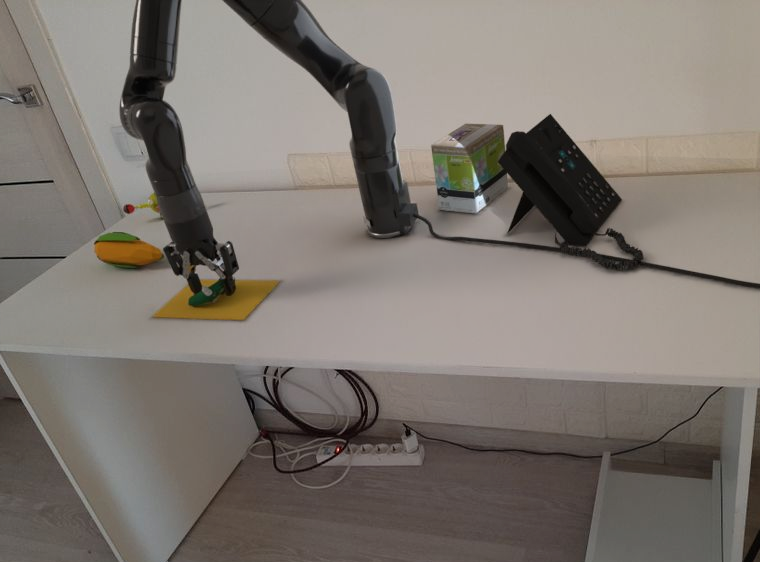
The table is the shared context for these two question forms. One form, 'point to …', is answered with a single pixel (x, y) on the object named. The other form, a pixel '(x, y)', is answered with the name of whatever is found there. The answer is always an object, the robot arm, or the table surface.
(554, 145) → the office phone
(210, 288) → the gaming controller
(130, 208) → the toy figure
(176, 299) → the cloth
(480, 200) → the tea box
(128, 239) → the corn
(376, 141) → the robot arm
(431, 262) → the table surface
